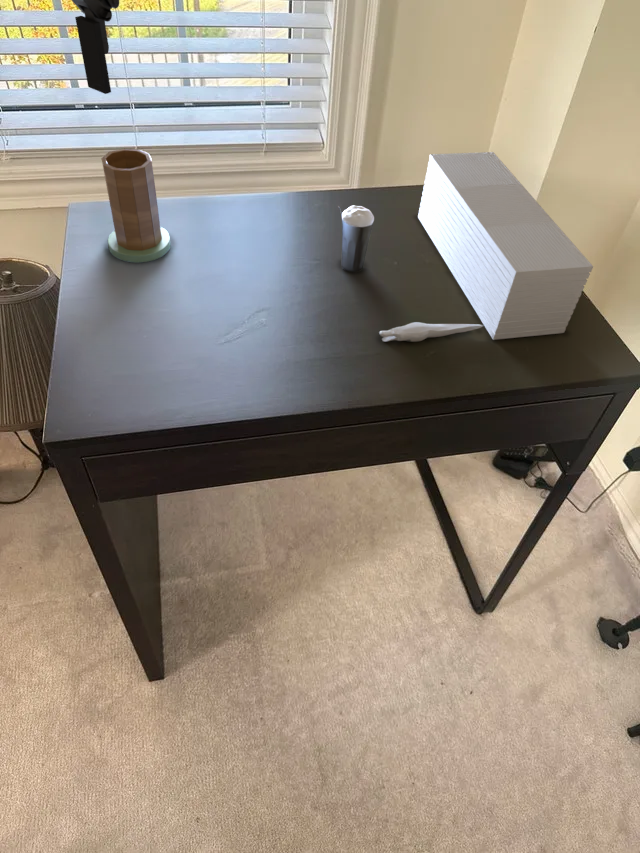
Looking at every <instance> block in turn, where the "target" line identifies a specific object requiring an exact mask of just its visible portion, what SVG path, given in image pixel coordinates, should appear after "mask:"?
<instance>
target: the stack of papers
mask: <svg viewBox="0 0 640 853" xmlns="http://www.w3.org/2000/svg"><path fill="white" fill-rule="evenodd" d="M426 169H427V170H426V173H425V178H424V185H423V188H422V189H423V190H422V193H421V194H422V196H421V197H420V204H419V208H418V209H419V210H418V215H417V219H418V220H419V222H420V224H421V225H422V226H423V229H424V230H425V231H426V233H427V235H428V236H429V238H430V239H431V241H432V243H433V245H434V246H435V248H436V250H437V251H438V253H439V255H440V256H441V258H442V260H443V261H444V262H445V264H446V266H447V267H448V269H449V271H450V272H451V274H452V275H453V278H454V279H455V281H456V282H457V284H458V285H459V287H460V288H461V290H462V292H463V294H464V295H465V297H466V298H467V300H468V302H469V303H470V305H471V306H472V308H473V310H474V311H475V313H476V315H477V316H478V318H479V320H480V321H481V323H482V325H484V326H483V327H484V328H485V330H486V331H487V332H488V334H489V336H490V338H491V339H492V340H493V341H495V340H505V339H514V338H515V339H516V338H524V337H534V336H535V337H536V336H545V335H546V336H547V335H555V334H556V335H557V334H564V333H565V331H566V329H567V327H568V325H569V322H570V320H571V318H572V316H573V313H574V312H575V309H576V308H577V304H578V302H579V300H580V298H581V296H582V292H583V291H584V289H585V286H586V284H587V283H588V279H589V278H590V275H591V273H592V271H593V269H594V266H593V264H592V263H591V262H590V261H589V260H588V259H587V257H586V256H585V255H584V254H583V252H581V250H580V249H579V248H578V247H577V246H576V245H575V243H574V242H573V241H572V240H571V239H570V237H569V236H568V235H566V233H565V232H564V231H563V230H562V228H560V227H559V225H558V224H557V223H556V221H555V220H554V219H552V217H551V216H550V214H548V213H547V211H546V210H545V209H544V207H542V206H541V204H539V202H538V201H537V200H536V199H535V198H534V197H533V195H532V194H531V193H530V192H529V191H528V190H527V188H525V186H524V185H523V184H522V183H521V182H520V180H518V178H517V177H516V176H515V174H513V173H512V171H511V170H510V169H509V168H508V167H507V165H505V164H504V162H503V161H502V160H501V159H500V158H499V156H498V155H497V154H496V153H495V151H484V152H483V151H482V152H456V153H455V152H453V153H452V152H451V153H430V154H429V157H428V163H427V168H426Z"/></svg>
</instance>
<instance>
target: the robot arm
mask: <svg viewBox="0 0 640 853" xmlns="http://www.w3.org/2000/svg"><path fill="white" fill-rule="evenodd" d="M71 2H72V3H73V4H74V5H75V6H76V7H77V8H78V9H79V10H80V12H81V13H83V15H84V16H83V15H78V16H75V17H74V18H75V23H76V29H77V34H78V40H79V45H80V51H81V54H82V60H83V67H84V71H85V78H86V82H87V87H88V88H90V89H91V90H94V91H97V92H100V93H102V94H104V95H108V94H110V93H112V88H111V82H110V75H109V71H108V70H109V69H108V64H107V57H106V55H107V54H109V50H110V45H109V41H108V40H109V39H108V32H107V27H106V23H108V22H110V21H111V20H112V18H113V13H112V9H118V8H119V6H120V0H71Z"/></svg>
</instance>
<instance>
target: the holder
mask: <svg viewBox="0 0 640 853" xmlns="http://www.w3.org/2000/svg"><path fill="white" fill-rule="evenodd" d="M160 228H161V236H162V240H161V241H160V242H159V243H158V244H157V246H155V247H153V248H149V249H146V250H142V251H141V250H127V249H125V248H123V247H121V246H119V245H118V243H117V239H116V234H115V229H114V230H113V231H112V232H110V234H109V236H108V237H107V246H108V249H109V252H110V254H111V255H112V256H113V257H115V258H116V259H118V260H121V261H124V262H128V263H136V264H137V263H138V264H139V263H148V262H152V261H155V260H159V259H160V258H162V257H164V256H165V255H167V253H168V252H169V250H170V249H171V245H172V243H171V236H170V234H169V232H168V231H167V230H166V229H165V228H163V227H162V226H160Z"/></svg>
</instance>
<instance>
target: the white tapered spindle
mask: <svg viewBox="0 0 640 853" xmlns="http://www.w3.org/2000/svg"><path fill="white" fill-rule="evenodd" d="M483 327H485V326H484V324H477V323H476V324H474V323H425V322H420V321H413V322H410V323H407V324H405V325H402V326H396V327H392V328H390V329H388V330H380V331H379V332H378V333H379V335H380V337H382V338H381V340H382V342H385V343H388V342H391V341H397V342H409V343H410V342H413V343H418V342H422V341H424V340H425V339H429V338H441V337H445V336H450V335H454V334H459V333H466V332H471V331H474V330H478V329H482V328H483Z"/></svg>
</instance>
